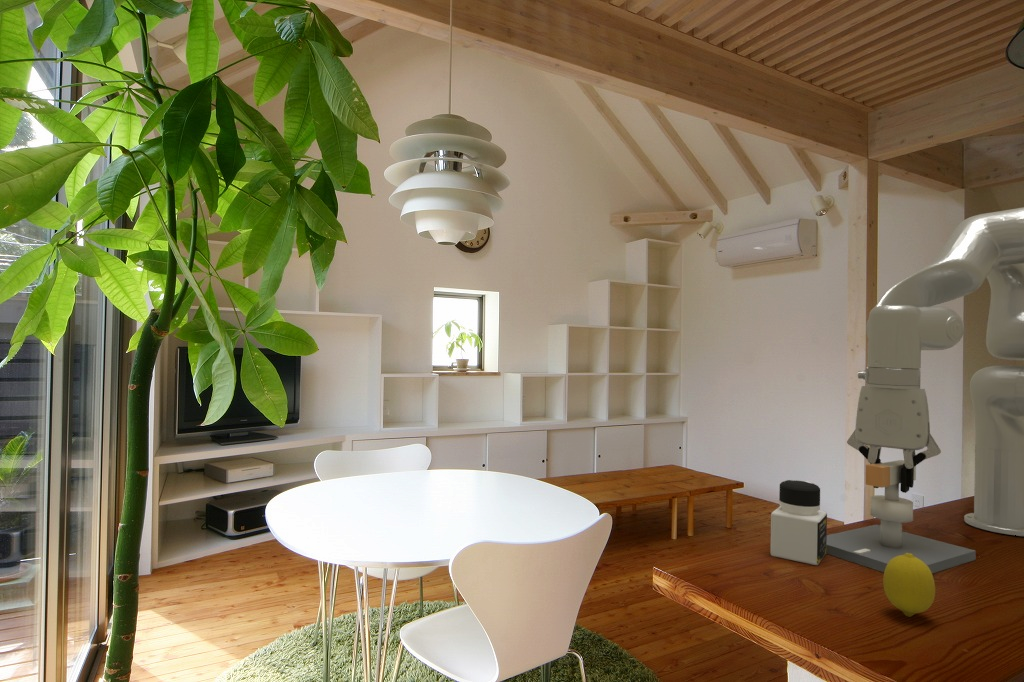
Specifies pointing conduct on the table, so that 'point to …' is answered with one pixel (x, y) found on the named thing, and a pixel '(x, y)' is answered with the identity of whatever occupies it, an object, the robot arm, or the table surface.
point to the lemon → (909, 584)
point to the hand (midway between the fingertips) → (891, 487)
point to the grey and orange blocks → (889, 492)
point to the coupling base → (894, 547)
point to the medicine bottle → (799, 523)
